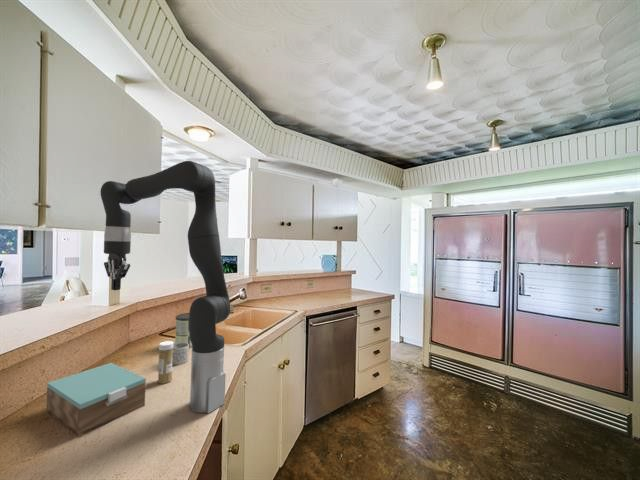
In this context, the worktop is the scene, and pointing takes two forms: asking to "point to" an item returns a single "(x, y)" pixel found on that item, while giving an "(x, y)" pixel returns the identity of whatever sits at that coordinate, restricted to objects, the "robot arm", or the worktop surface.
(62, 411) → the storage box
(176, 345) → the mug
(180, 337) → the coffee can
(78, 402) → the lid
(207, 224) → the robot arm
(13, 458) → the worktop surface
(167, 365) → the sprinkles bottle
